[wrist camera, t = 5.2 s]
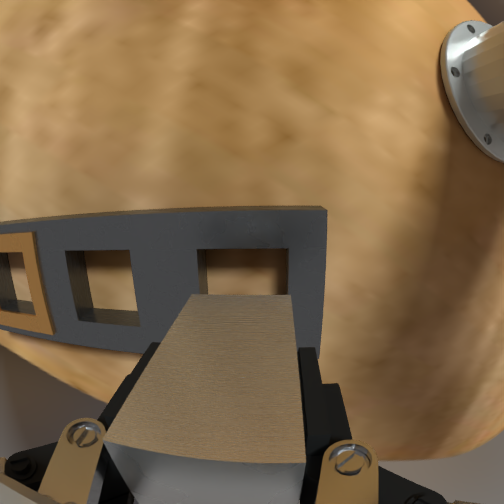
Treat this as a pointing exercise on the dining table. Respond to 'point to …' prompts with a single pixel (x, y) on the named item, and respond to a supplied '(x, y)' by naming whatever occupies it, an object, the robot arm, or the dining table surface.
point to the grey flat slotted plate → (153, 269)
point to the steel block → (216, 408)
